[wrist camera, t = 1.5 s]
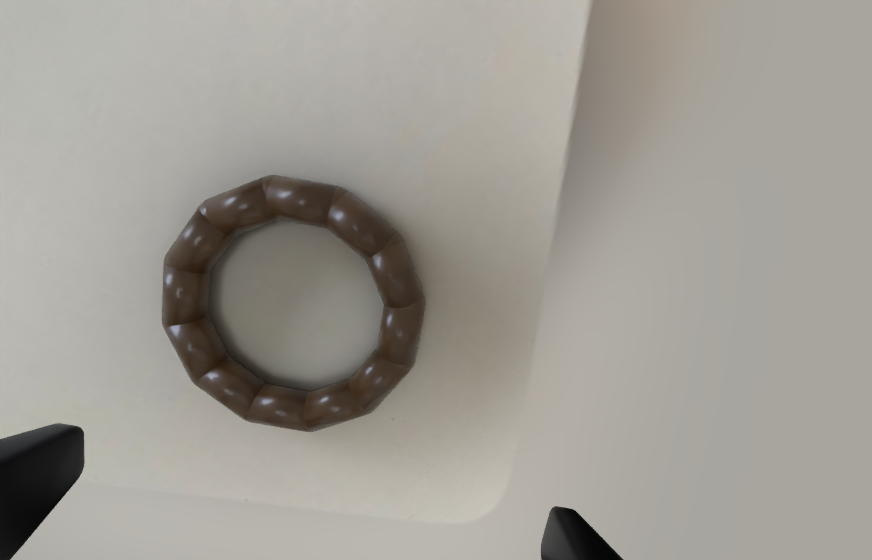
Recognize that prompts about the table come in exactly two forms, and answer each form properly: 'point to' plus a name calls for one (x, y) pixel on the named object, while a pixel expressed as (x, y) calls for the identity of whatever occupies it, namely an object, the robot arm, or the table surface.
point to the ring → (311, 207)
